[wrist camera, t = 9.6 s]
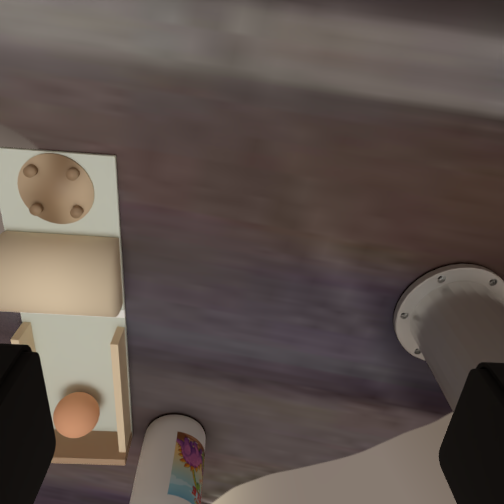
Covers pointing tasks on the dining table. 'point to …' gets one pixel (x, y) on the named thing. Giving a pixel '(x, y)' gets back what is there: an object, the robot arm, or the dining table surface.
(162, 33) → the dining table surface
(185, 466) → the milk bottle
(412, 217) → the dining table surface
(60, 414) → the ball
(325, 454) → the dining table surface
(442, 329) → the robot arm
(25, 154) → the lane
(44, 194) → the tee
